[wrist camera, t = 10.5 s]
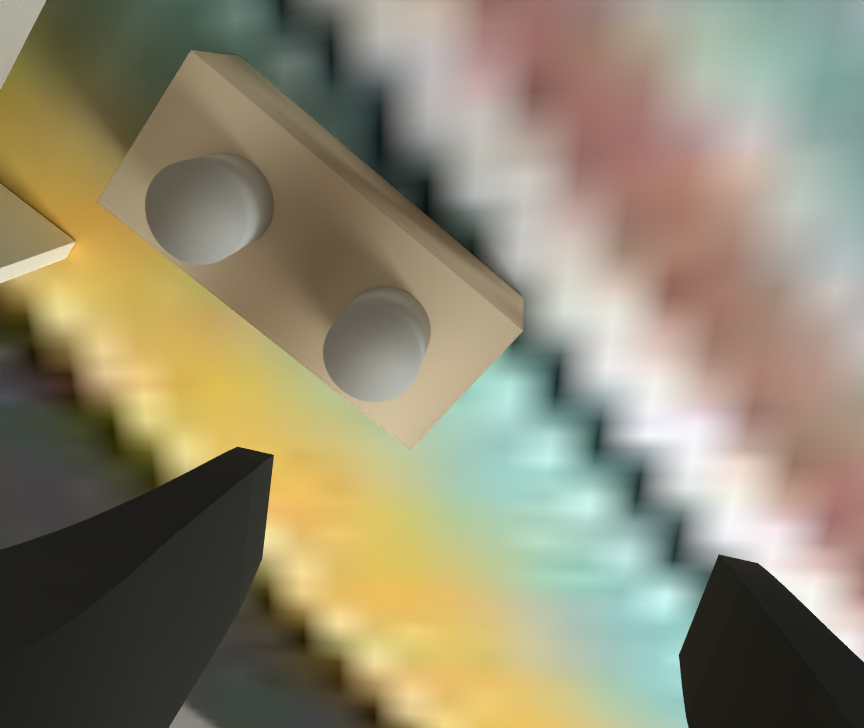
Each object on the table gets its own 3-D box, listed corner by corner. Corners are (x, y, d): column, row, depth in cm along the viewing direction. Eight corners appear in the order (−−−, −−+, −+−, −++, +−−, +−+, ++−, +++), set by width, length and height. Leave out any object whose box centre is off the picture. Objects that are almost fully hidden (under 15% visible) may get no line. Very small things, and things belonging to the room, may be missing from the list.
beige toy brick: (523, 295, 19) (523, 358, 14) (425, 400, 20) (398, 488, 16) (243, 56, 18) (148, 45, 13) (159, 185, 19) (47, 215, 15)
